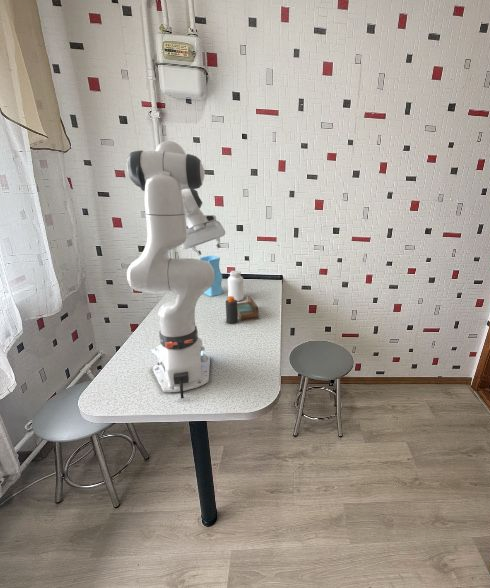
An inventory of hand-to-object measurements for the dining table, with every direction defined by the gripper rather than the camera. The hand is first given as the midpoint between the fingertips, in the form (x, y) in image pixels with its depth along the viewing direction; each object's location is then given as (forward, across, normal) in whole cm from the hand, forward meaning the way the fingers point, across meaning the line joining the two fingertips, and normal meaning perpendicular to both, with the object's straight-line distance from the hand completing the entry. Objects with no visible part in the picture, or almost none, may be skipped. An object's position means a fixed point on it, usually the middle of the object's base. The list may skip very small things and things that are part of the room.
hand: (209, 251), depth 151 cm
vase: (+17, -2, +32) cm, 37 cm away
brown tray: (+33, +4, +4) cm, 34 cm away
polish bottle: (+34, -5, -2) cm, 34 cm away
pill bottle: (+25, +6, +22) cm, 34 cm away
